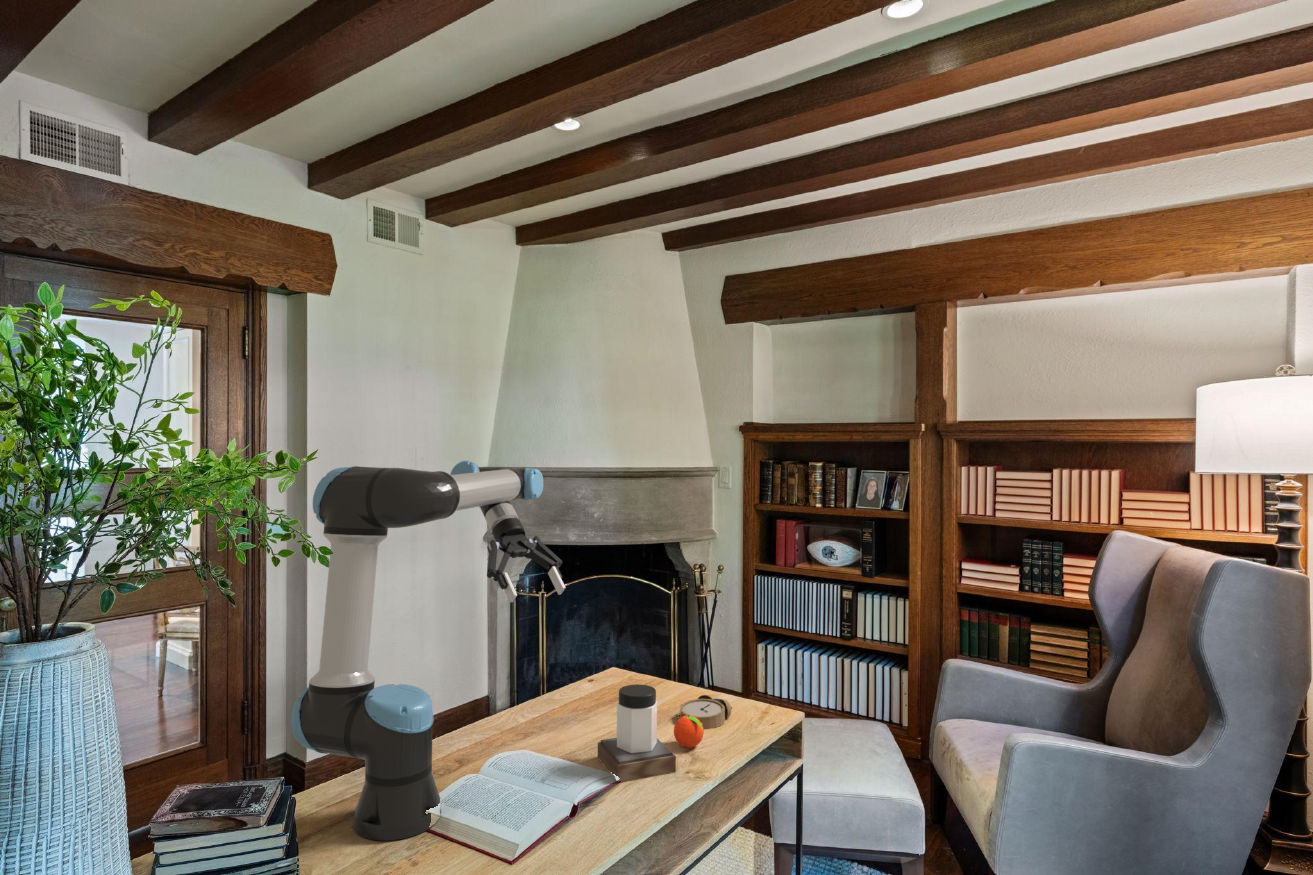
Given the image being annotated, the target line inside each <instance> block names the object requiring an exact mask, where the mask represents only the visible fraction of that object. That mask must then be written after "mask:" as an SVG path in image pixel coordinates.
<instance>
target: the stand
mask: <svg viewBox="0 0 1313 875" xmlns="http://www.w3.org/2000/svg"><path fill="white" fill-rule="evenodd" d="M598 758H599V759H600V760H601V761H600V760H599V759H598ZM597 759H598V760H599V761H600V763H601V762H602V763H603V764H604V765H605V766H604V765H603V764H602V763H601V764H602V765H603V766H604V768H605V769H606V768H607V769H608V770H609V771H610V772H612V774H615V775H616V776H618V777H619V778H620V779H621V781H622V782H621V783H624V782H631V781H635V780H640V779H646V778H651V777H652V778H653V777H657V776H663V775H667V774H672V773H676V771H677V768H676V766H677V765H676V764H677V763H676V762H677V760H676V759H677V756H676V755H675V754H674V753H673V751H672V750H670V748H668V747H667V746H666V744H664V743H663V742H662V741H661V740H660V739H658V737H657V743H656V745H655V746H654V748H653V750H652V751H651V752H642V753H632V754H631V753H629V752H627V751H624V750H622V749H620V748H617V737H613V738H607V739H600V741H599V742H597ZM607 769H606V770H607ZM608 770H607V771H608ZM609 771H608V772H609ZM610 772H609V773H610Z"/></svg>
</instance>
